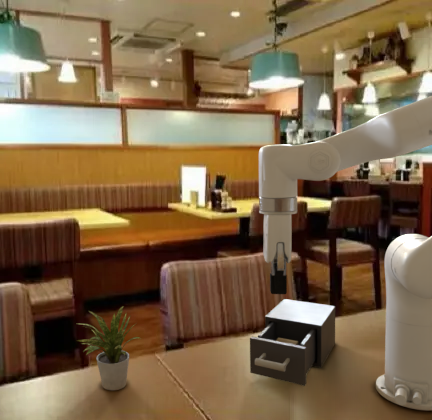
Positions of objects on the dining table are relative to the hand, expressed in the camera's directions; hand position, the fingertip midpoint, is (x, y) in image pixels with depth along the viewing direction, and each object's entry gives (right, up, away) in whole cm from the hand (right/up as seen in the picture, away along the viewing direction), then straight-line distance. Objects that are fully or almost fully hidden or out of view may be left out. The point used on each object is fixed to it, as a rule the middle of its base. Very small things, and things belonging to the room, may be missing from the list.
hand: (278, 292), depth 92 cm
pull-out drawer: (+2, -18, +4) cm, 18 cm away
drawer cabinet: (+10, -17, +16) cm, 26 cm away
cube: (+3, -16, +5) cm, 18 cm away
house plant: (-35, -20, +4) cm, 41 cm away
